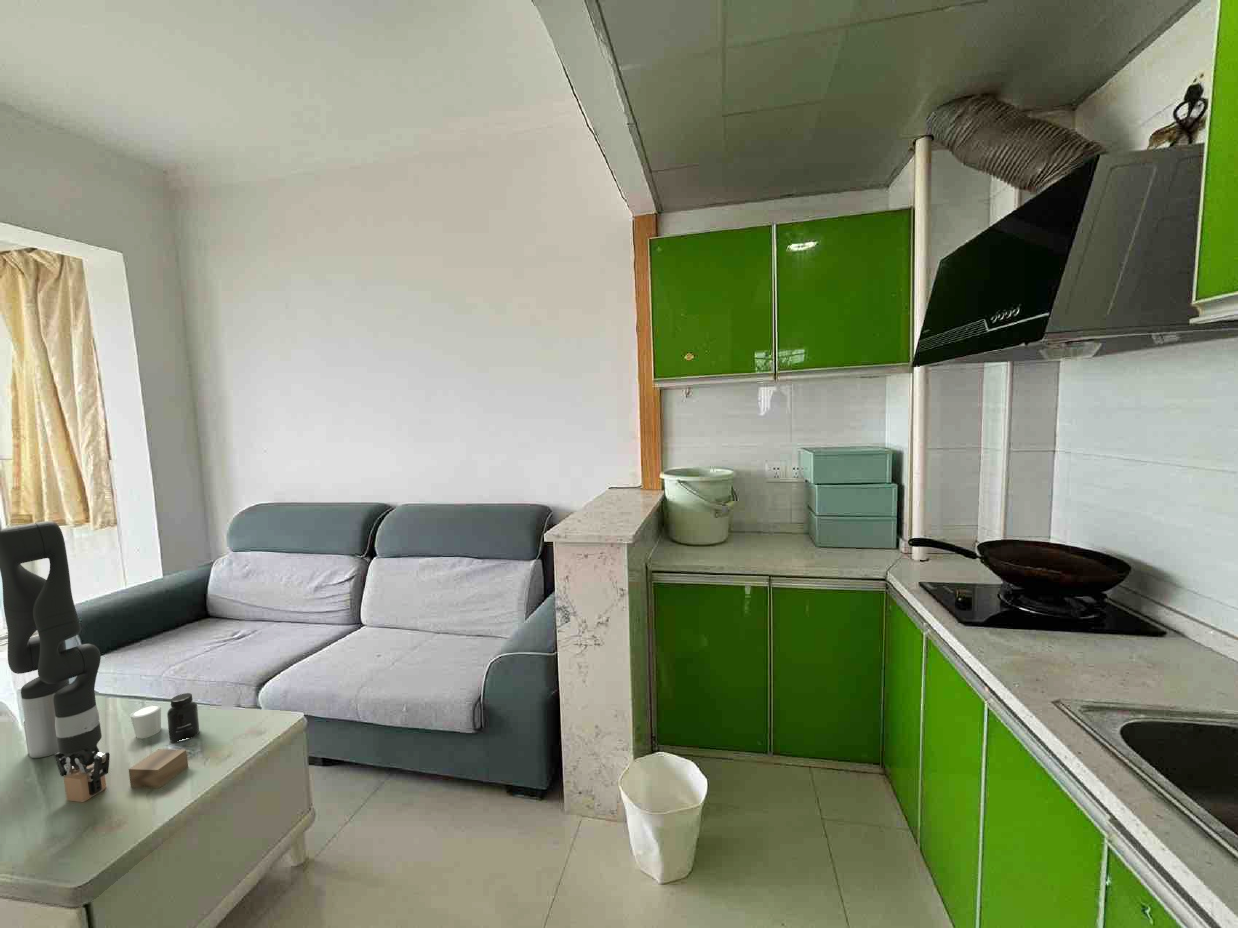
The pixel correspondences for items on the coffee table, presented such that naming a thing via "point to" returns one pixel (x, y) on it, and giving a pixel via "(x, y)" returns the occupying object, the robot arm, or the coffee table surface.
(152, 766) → the walnut box
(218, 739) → the coffee table surface
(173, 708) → the supplement bottle
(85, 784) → the tan block
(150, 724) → the white cylinder
